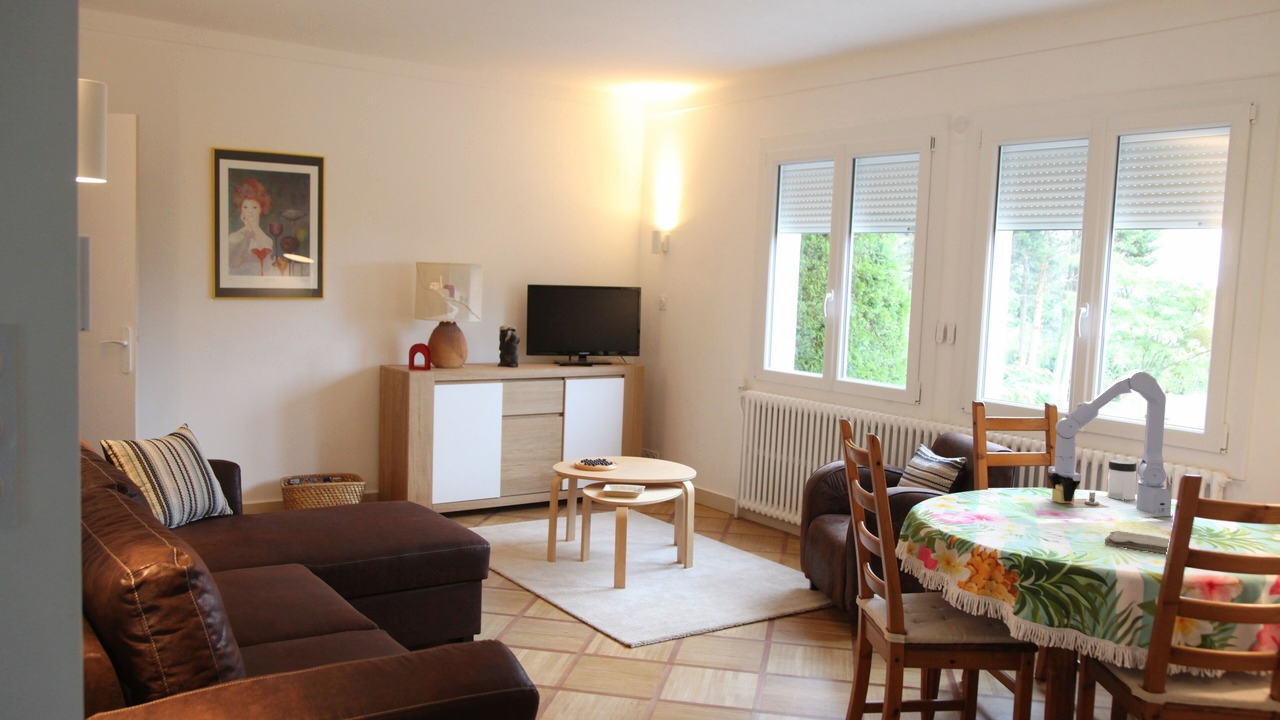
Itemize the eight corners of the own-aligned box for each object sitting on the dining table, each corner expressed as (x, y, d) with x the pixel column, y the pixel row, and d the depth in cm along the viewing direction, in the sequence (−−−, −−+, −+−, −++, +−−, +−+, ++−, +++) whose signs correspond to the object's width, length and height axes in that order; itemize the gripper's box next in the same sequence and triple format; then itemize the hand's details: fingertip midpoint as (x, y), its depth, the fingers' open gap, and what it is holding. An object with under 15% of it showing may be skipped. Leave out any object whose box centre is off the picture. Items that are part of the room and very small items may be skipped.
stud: (1101, 505, 297) (1102, 493, 297) (1089, 505, 296) (1090, 493, 296) (1093, 502, 301) (1094, 490, 301) (1082, 502, 300) (1082, 490, 300)
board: (1109, 510, 295) (1109, 507, 295) (1067, 511, 293) (1067, 507, 293) (1085, 502, 307) (1085, 498, 307) (1045, 503, 305) (1045, 499, 305)
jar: (1105, 494, 321) (1107, 458, 320) (1132, 496, 318) (1134, 460, 318) (1108, 499, 313) (1110, 462, 312) (1136, 501, 310) (1138, 464, 309)
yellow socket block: (1073, 502, 299) (1074, 485, 298) (1060, 503, 298) (1061, 485, 297) (1065, 499, 303) (1066, 482, 303) (1052, 499, 302) (1052, 482, 302)
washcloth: (1110, 538, 262) (1111, 527, 262) (1185, 549, 252) (1185, 538, 252) (1103, 547, 253) (1103, 536, 252) (1180, 559, 242) (1181, 547, 242)
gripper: (1040, 452, 306) (1038, 494, 307) (1066, 460, 292) (1064, 504, 293) (1060, 452, 307) (1058, 494, 308) (1088, 460, 293) (1085, 504, 294)
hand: (1063, 499), depth 300 cm, fingers closed on yellow socket block, 5 cm apart
